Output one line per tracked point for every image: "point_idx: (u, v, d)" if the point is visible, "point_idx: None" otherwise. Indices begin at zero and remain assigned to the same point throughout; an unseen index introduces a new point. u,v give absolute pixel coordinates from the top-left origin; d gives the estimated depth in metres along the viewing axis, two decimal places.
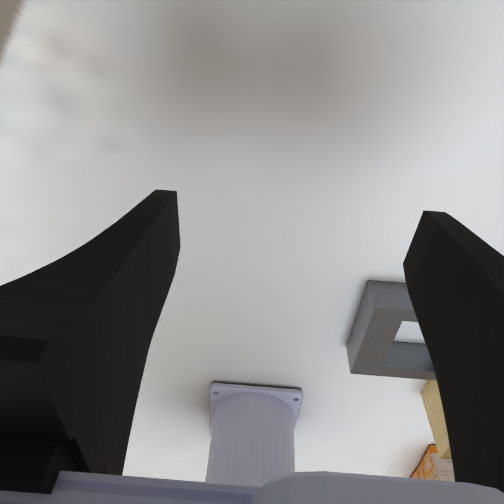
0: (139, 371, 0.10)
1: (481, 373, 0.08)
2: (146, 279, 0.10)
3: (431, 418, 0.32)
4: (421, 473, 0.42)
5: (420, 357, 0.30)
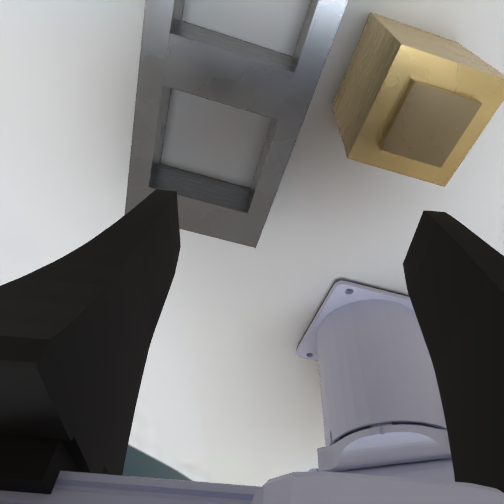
0: (139, 371, 0.10)
1: (481, 373, 0.08)
2: (146, 279, 0.10)
3: None
4: None
5: (266, 148, 0.19)
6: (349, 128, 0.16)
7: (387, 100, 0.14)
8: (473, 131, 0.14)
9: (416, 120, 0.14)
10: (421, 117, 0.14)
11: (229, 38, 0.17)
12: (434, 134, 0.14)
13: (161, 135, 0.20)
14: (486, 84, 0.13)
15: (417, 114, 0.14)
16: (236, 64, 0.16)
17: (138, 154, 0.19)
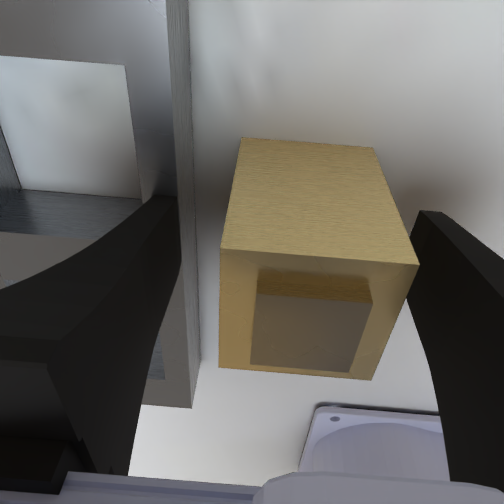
0: (144, 371, 0.10)
1: (476, 373, 0.08)
2: (151, 279, 0.10)
3: None
4: None
5: None
6: None
7: (236, 306, 0.09)
8: (382, 323, 0.09)
9: (283, 331, 0.09)
10: (288, 328, 0.09)
11: (79, 200, 0.14)
12: (319, 341, 0.09)
13: None
14: (374, 273, 0.08)
15: (281, 325, 0.09)
16: (74, 247, 0.12)
17: None
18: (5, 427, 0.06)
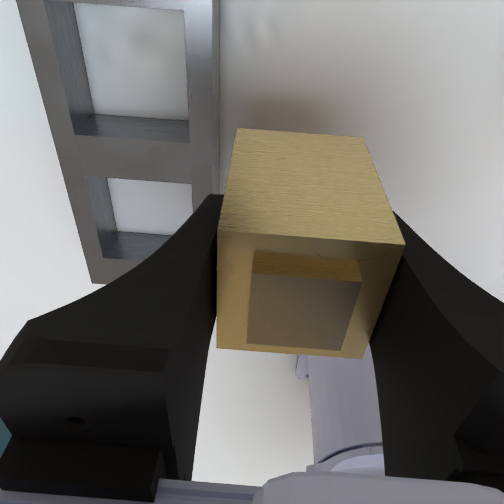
0: (202, 376, 0.10)
1: (405, 367, 0.08)
2: (211, 284, 0.10)
3: None
4: None
5: None
6: None
7: (233, 288, 0.10)
8: (371, 301, 0.10)
9: (278, 310, 0.10)
10: (282, 307, 0.09)
11: (136, 120, 0.19)
12: (312, 320, 0.10)
13: (106, 210, 0.22)
14: (362, 253, 0.09)
15: (276, 304, 0.09)
16: (138, 147, 0.18)
17: (85, 233, 0.21)
18: (101, 435, 0.06)
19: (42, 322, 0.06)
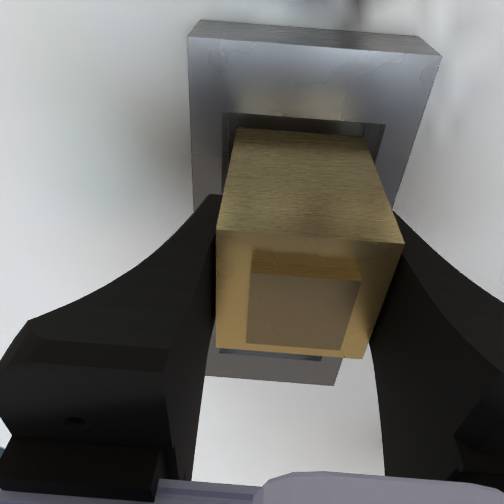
0: (202, 376, 0.10)
1: (405, 367, 0.08)
2: (211, 284, 0.10)
3: None
4: None
5: None
6: None
7: (232, 287, 0.10)
8: (370, 301, 0.10)
9: (277, 310, 0.09)
10: (281, 306, 0.09)
11: None
12: (311, 319, 0.10)
13: None
14: (361, 252, 0.09)
15: (275, 303, 0.09)
16: None
17: None
18: (101, 435, 0.06)
19: (42, 322, 0.06)
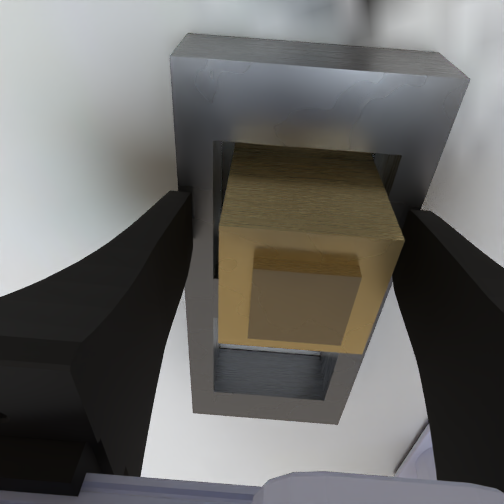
0: (156, 372, 0.10)
1: (461, 371, 0.08)
2: (163, 280, 0.10)
3: None
4: None
5: None
6: None
7: (234, 283, 0.10)
8: (371, 297, 0.10)
9: (279, 305, 0.10)
10: (283, 302, 0.10)
11: None
12: (312, 315, 0.10)
13: (217, 335, 0.18)
14: (362, 248, 0.09)
15: (277, 299, 0.10)
16: None
17: (198, 369, 0.17)
18: (24, 428, 0.06)
19: None
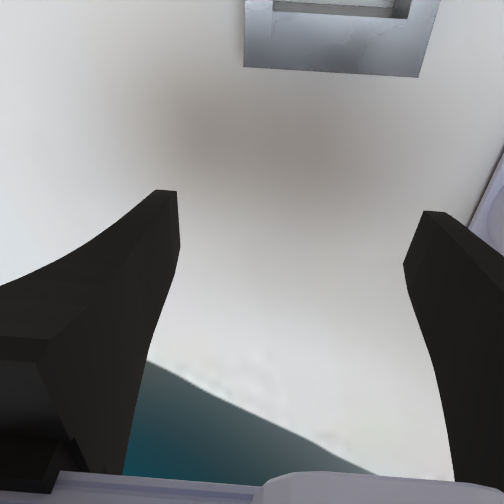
0: (139, 371, 0.10)
1: (481, 373, 0.08)
2: (146, 279, 0.10)
3: None
4: None
5: None
6: None
7: None
8: None
9: None
10: None
11: None
12: None
13: None
14: None
15: None
16: None
17: None
18: None
19: None
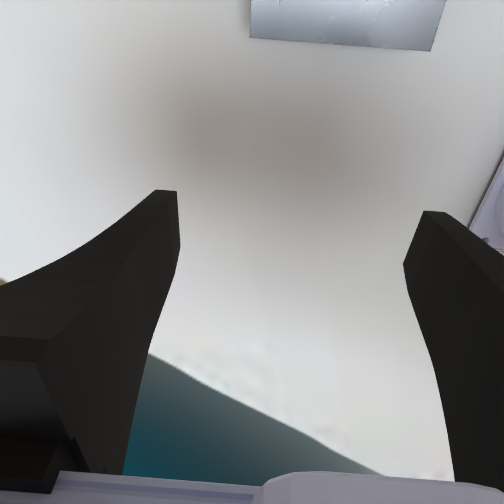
0: (139, 371, 0.10)
1: (481, 373, 0.08)
2: (146, 279, 0.10)
3: None
4: None
5: None
6: None
7: None
8: None
9: None
10: None
11: None
12: None
13: None
14: None
15: None
16: None
17: None
18: None
19: None
